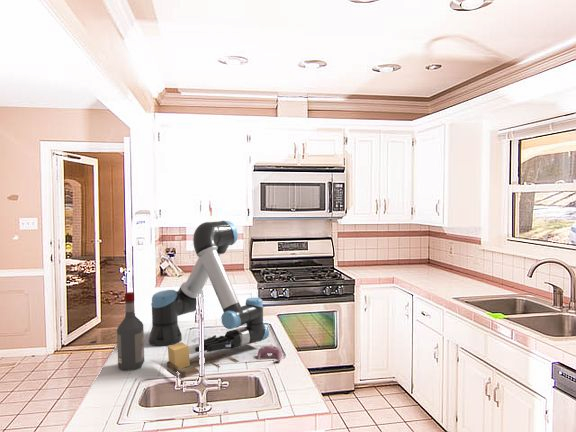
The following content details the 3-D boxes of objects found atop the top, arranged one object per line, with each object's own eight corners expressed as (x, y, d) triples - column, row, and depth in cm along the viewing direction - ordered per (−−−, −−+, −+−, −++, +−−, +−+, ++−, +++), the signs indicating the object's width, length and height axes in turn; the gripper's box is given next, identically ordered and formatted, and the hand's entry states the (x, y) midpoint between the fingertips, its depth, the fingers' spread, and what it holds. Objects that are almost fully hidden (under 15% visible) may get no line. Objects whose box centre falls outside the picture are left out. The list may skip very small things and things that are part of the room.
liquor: (145, 361, 185) (143, 290, 183) (140, 370, 176) (138, 295, 174) (122, 362, 184) (120, 291, 182) (116, 371, 175) (114, 296, 173)
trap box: (167, 370, 175) (166, 362, 174) (221, 355, 191) (221, 347, 190) (183, 381, 164) (183, 372, 164) (239, 364, 180) (239, 356, 180)
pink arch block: (281, 364, 184) (282, 346, 187) (280, 362, 180) (280, 345, 183) (257, 363, 185) (258, 346, 188) (256, 362, 181) (257, 344, 184)
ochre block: (169, 366, 176) (167, 346, 175) (183, 361, 179) (181, 342, 179) (175, 370, 171) (174, 350, 170) (190, 365, 175) (188, 345, 174)
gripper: (245, 350, 186) (195, 364, 171) (228, 342, 196) (179, 355, 181) (245, 332, 186) (194, 345, 171) (228, 326, 196) (179, 337, 181)
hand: (187, 350), depth 176 cm, fingers closed
